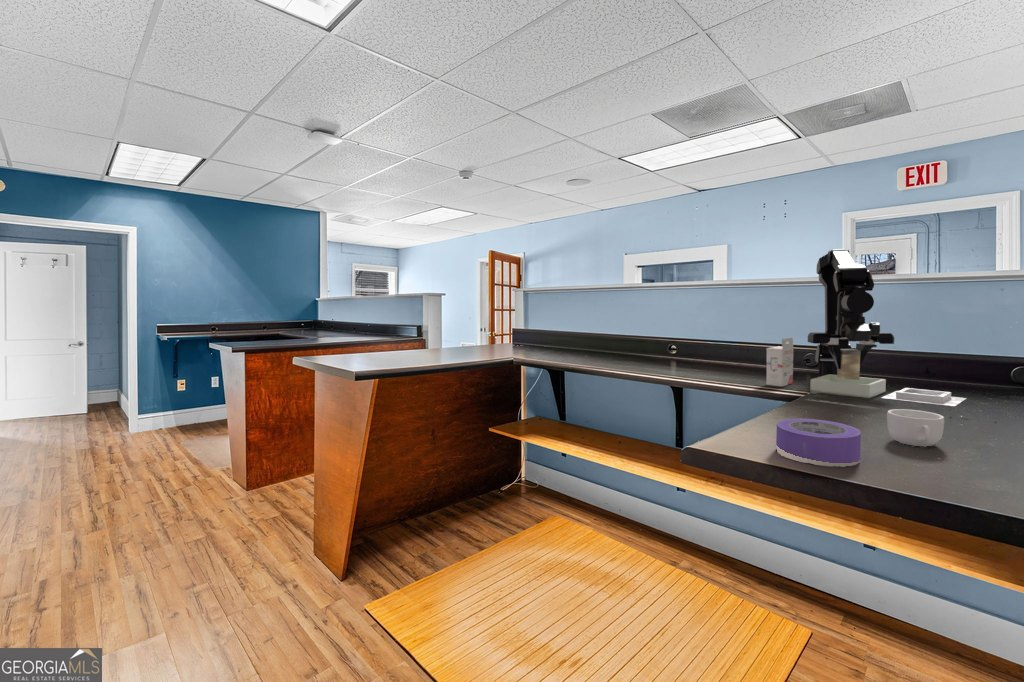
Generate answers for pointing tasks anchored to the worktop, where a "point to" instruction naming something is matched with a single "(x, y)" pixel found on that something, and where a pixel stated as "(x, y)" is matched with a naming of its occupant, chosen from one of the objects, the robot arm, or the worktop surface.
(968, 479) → the worktop surface
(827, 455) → the tape roll
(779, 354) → the ink cartridge box
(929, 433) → the teacup
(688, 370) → the worktop surface
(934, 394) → the socket collar
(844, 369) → the strut
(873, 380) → the bin
